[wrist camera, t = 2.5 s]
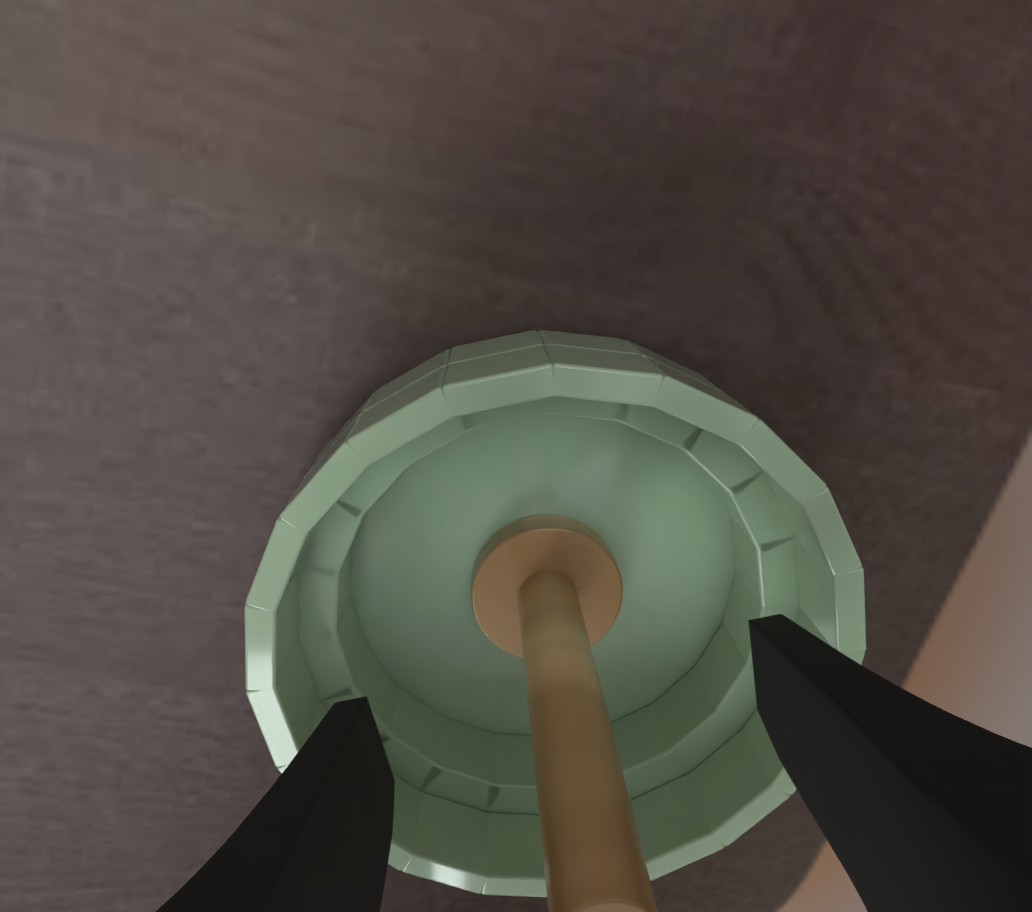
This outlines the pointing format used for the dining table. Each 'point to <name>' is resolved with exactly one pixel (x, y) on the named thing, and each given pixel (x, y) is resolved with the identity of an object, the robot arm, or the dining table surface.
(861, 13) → the dining table surface
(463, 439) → the shallow round dish
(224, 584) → the dining table surface
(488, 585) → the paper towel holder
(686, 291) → the dining table surface
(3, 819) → the dining table surface
